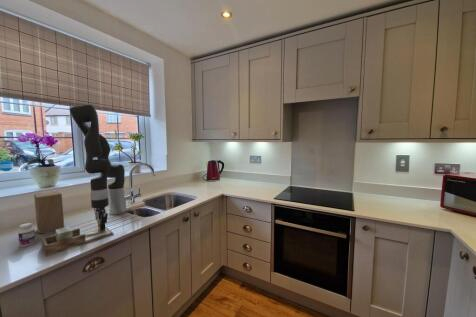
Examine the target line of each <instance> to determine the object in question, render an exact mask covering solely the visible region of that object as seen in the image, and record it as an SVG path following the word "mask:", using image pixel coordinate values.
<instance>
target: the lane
mask: <svg viewBox="0 0 476 317" xmlns="http://www.w3.org/2000/svg"><path fill="white" fill-rule="evenodd" d="M71 230H72V234H73V237H72V238H69V239H65V240H62V241H58V242H56V233H55V234H51V235H48V236H44V237H41V238H40V239H41V248H42V251H43V253H44V255H45V257H48V256H52V255H55V254H58V253H60V251H61V252H64V251H66V250H70V249H73V248H76V247H79V246H82V245H86V244H89V243H92V242H95V241H98V240H101V239H104V238H108V237H110V236H113V235H114V232H113V231H112V230H111V229H109V228H108V227H107V226H105V231H104V232H101V233H96V234H92V235H89V236H86V237H85V235H86V234H90V233H93V232H96V231H98V229H94V230H90V231H87V232H83V233H81V230H80V228H79V227H78V228H75V229H71ZM57 252H58V253H57ZM54 253H55V254H54Z"/></svg>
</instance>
